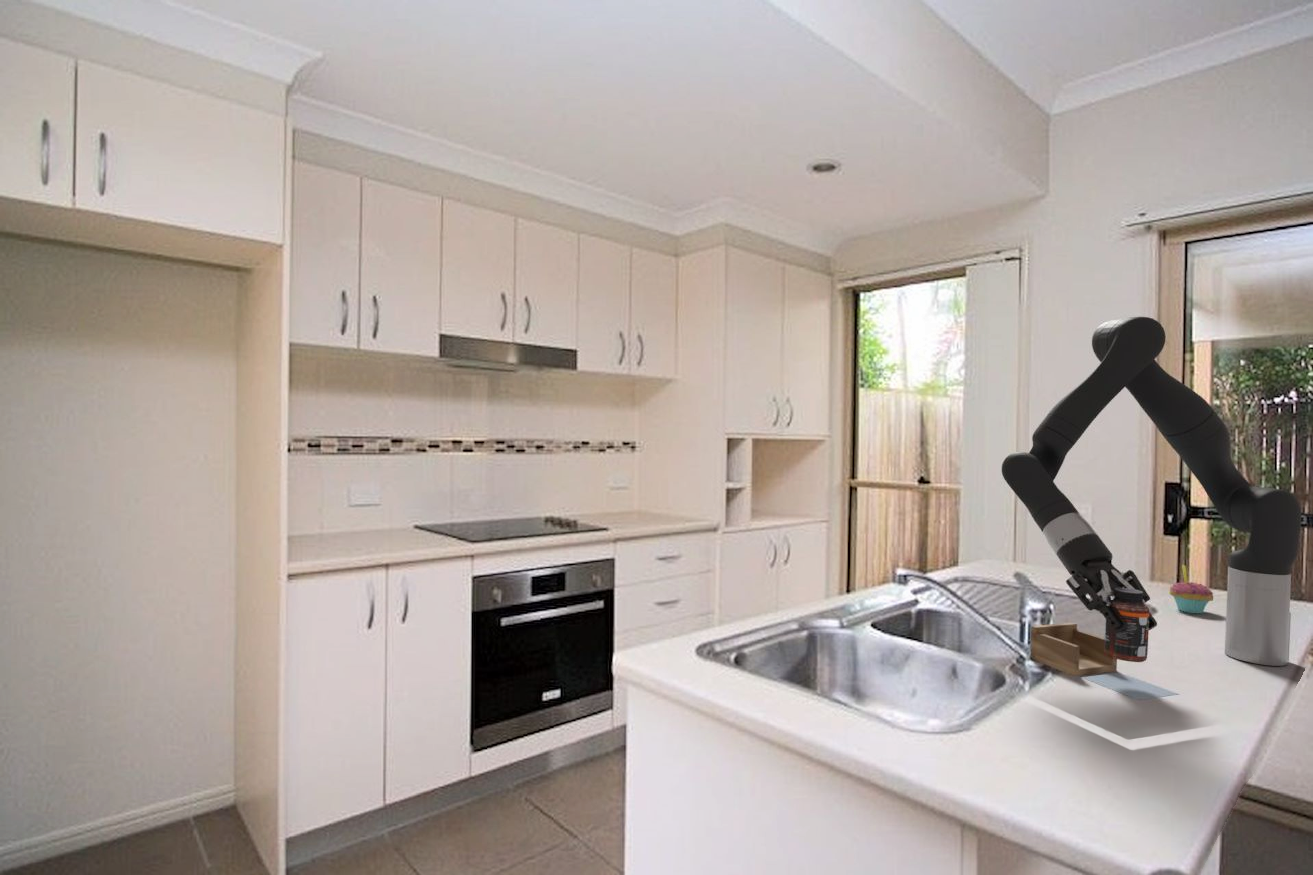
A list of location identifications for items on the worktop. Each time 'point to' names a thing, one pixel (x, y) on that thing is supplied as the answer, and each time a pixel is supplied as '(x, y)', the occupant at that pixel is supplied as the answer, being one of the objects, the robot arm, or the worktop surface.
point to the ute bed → (1070, 649)
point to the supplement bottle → (1134, 638)
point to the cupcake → (1190, 595)
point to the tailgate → (1129, 686)
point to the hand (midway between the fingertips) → (1137, 628)
